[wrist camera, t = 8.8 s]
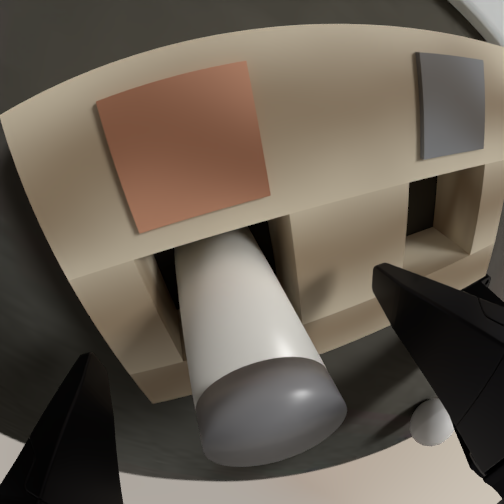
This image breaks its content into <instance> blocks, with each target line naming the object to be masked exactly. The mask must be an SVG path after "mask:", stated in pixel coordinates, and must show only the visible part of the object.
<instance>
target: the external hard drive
mask: <svg viewBox="0 0 504 504" xmlns="http://www.w3.org/2000/svg"><path fill="white" fill-rule="evenodd" d="M447 1H449V2H450V3H451V4H452V5H453V6H454V7H455V8H456V9H457V10H458V11H459V12H460V13H461V14H462V15H463V16H464V17H465V18H466V19H467V20H468V21H469V22H470V23H471V25H472V26H473V27H474V28H475V29H476V30H477V31H478V32H479V33H480V34H481V36H482V37H483V38H484V39H485V40H486V41H487V42H488V43H491V44H495V45H498V46H502V47H504V0H447Z"/></svg>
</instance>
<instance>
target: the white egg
mask: <svg viewBox="0 0 504 504" xmlns="http://www.w3.org/2000/svg"><path fill="white" fill-rule="evenodd" d="M453 431H454V428H453V424H452V421H451V419H450V416H449V414H448V413H447V411H446V409H445V408H444V406H443V404H442V403H441V401H440V400H439V399H431V400H427V401H425V402H423V403H422V404H420V405H419V406H418V407H417V408H416V410H415V411H414V413H413V414H412V417H411V420H410V432H411V435H412V437H413V438H414V439H415V441H416V442H418V443H420V444H422V445H425V446H434V445H439V444H441V443H442V442H444V441H445V440H446V439H448V438H449V437H450V436H451V434H452V433H453Z"/></svg>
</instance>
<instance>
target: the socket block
mask: <svg viewBox="0 0 504 504" xmlns="http://www.w3.org/2000/svg"><path fill="white" fill-rule="evenodd" d="M0 119H1V123H2V126H3V129H4V133H5V136H6V139H7V142H8V145H9V148H10V151H11V154H12V157H13V160H14V163H15V166H16V168H17V171H18V174H19V176H20V179H21V182H22V184H23V187H24V189H25V192H26V194H27V197H28V199H29V201H30V204H31V206H32V208H33V211H34V213H35V215H36V217H37V220H38V222H39V224H40V226H41V228H42V230H43V232H44V235H45V237H46V239H47V241H48V243H49V245H50V247H51V249H52V251H53V253H54V255H55V257H56V259H57V260H58V262H59V264H60V266H61V268H62V270H63V272H64V274H65V275H66V277H67V279H68V281H69V283H70V284H71V286H72V288H73V290H74V291H75V293H76V295H77V296H78V298H79V300H80V301H81V303H82V305H83V306H84V308H85V310H86V311H87V313H88V315H89V316H90V318H91V319H92V321H93V322H94V324H95V326H96V327H97V329H98V330H99V332H100V333H101V335H102V336H103V338H104V339H105V341H106V342H107V344H108V345H109V347H110V348H111V349H112V351H113V352H114V354H115V355H116V357H117V358H118V359H119V361H120V362H121V364H122V365H123V366H124V368H125V369H126V370H127V372H128V373H129V374H130V376H131V377H132V378H133V380H134V381H135V382H136V384H137V385H138V386H139V387H140V389H141V390H142V391H143V393H144V394H145V395H146V396H147V398H148V399H149V400H150V401H151V402H152V404H154V403H158V402H163V401H167V400H172V399H176V398H180V397H184V396H188V395H192V389H191V383H190V377H189V370H188V364H187V357H186V350H185V343H184V336H183V329H182V321H181V313H180V309H178V310H177V309H176V307H175V304H174V302H173V300H172V297H171V295H170V293H169V290H168V288H167V286H166V283H165V281H164V279H163V276H162V274H161V271H160V269H159V267H158V264H157V262H156V259H155V257H154V253H158V252H161V251H164V250H168V249H171V248H174V247H178V246H181V245H184V244H188V243H191V242H194V241H198V240H201V239H204V238H208V237H211V236H215V235H218V234H221V233H225V232H228V231H232V230H235V229H239V228H242V227H246V226H249V225H253V224H256V223H260V222H263V221H268V226H269V232H270V238H271V244H272V249H273V255H274V261H275V267H276V273H277V279H278V281H279V283H280V285H281V287H282V288H283V290H284V292H285V294H286V296H287V297H288V299H289V301H290V303H291V305H292V307H293V308H294V310H295V312H296V314H297V316H298V317H299V319H300V321H301V323H302V325H303V327H304V328H305V330H306V332H307V334H308V336H309V337H310V339H311V341H312V343H313V345H314V347H315V348H316V350H317V352H318V354H319V355H320V354H322V353H325V352H327V351H330V350H333V349H335V348H338V347H340V346H343V345H345V344H348V343H350V342H352V341H355V340H357V339H360V338H362V337H364V336H367V335H369V334H371V333H374V332H376V331H378V330H380V329H383V328H385V327H387V326H389V325H391V324H390V322H389V320H388V319H387V317H386V315H385V313H384V311H383V309H382V308H381V306H380V304H379V302H378V300H377V298H376V297H375V295H374V293H373V290H372V275H373V268H374V266H376V265H378V264H381V263H389V264H391V265H394V266H397V267H400V268H402V269H405V270H408V271H411V272H413V273H416V274H419V275H421V276H424V277H427V278H429V279H432V280H435V281H437V282H440V283H442V284H445V285H448V286H450V287H453V288H455V289H458V290H461V289H463V288H465V287H467V286H469V285H470V284H472V283H474V282H476V281H478V280H479V279H481V278H483V277H484V276H485V275H486V272H487V269H488V265H489V262H490V258H491V254H492V250H493V247H494V243H495V238H496V234H497V230H498V225H499V220H500V216H501V210H502V205H503V199H504V47H502V46H498V45H495V44H491V43H487V42H483V41H479V40H475V39H471V38H466V37H462V36H457V35H452V34H446V33H441V32H435V31H428V30H421V29H413V28H404V27H394V26H382V25H364V24H311V25H292V26H280V27H269V28H260V29H252V30H244V31H237V32H231V33H225V34H219V35H214V36H209V37H204V38H199V39H194V40H189V41H185V42H181V43H177V44H173V45H169V46H165V47H161V48H157V49H154V50H150V51H147V52H144V53H140V54H137V55H134V56H131V57H128V58H125V59H122V60H119V61H116V62H113V63H110V64H107V65H105V66H102V67H99V68H97V69H94V70H91V71H89V72H86V73H84V74H81V75H79V76H77V77H74V78H72V79H70V80H67V81H65V82H63V83H61V84H58V85H56V86H54V87H52V88H50V89H48V90H46V91H44V92H42V93H40V94H38V95H36V96H34V97H32V98H30V99H28V100H26V101H24V102H22V103H20V104H19V105H17V106H15V107H13V108H11V109H10V110H8V111H6V112H4V113H3V114H1V115H0ZM433 176H437V190H436V202H435V212H434V221H433V227H431V228H428V229H426V230H423V231H420V232H417V233H414V234H412V235H409V236H406V228H407V215H408V198H409V182H413V181H417V180H421V179H425V178H429V177H433Z"/></svg>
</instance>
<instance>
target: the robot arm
mask: <svg viewBox="0 0 504 504" xmlns="http://www.w3.org/2000/svg"><path fill="white" fill-rule="evenodd" d="M490 280H491V277H490V276H489V275H487V274H486V275H485V276H484V277H483V278H481V279H479V280H478V281H476V282H474V283H472V284H470V285H469V286H467V287H465V288H463V289H461V290H458V289H455V288H453V287H450V286H448V285H445V284H442V283H440V282H437V281H435V280H432V279H429V278H427V277H424V276H421V275H419V274H416V273H413V272H411V271H408V270H405V269H402V268H400V267H397V266H394V265H391V264H389V263H381V264H378V265H376V266H374V268H373V275H372V290H373V293H374V295H375V297H376V298H377V300H378V302H379V304H380V306H381V308H382V309H383V311H384V313H385V315H386V317H387V319H388V320H389V322H390V324H391V326H392V328H393V329H394V331H395V332H396V334H397V335H398V337H399V338H400V340H401V341H402V343H403V344H404V346H405V347H406V349H407V350H408V352H409V353H410V355H411V356H412V358H413V359H414V361H415V362H416V364H417V365H418V367H419V368H420V370H421V371H422V373H423V374H424V376H425V377H426V379H427V381H428V382H429V384H430V385H431V387H432V388H433V390H434V392H435V393H436V395H437V396H438V398H439V400H440V401H441V403H442V404H443V406H444V408H445V409H446V411H447V413H448V414H449V416H450V419H451V421H452V424H453V428H454V430H455V432H456V434H457V437H458V439H459V441H460V444H461V446H462V449H463V451H464V454H465V456H466V459H467V461H468V464H469V466H470V468H471V469H472V470H474V471H475V473H476V474H477V475H479V476H480V477H481V478H483V480H484V482H485V483H487V484H488V485H490V486H492V487H493V488H494V489H495V490H496V491H497V492H498V494H499V495H500V496H501V497H502V500H501V501H500V502H499V503H497V504H504V302H503V301H502V300H501V299H500V298H499V297H497V296H496V295H495V294H494V293H493V292H492V291H491V290H490V289H489V288H488V286H489V283H490ZM0 504H123V499H122V493H121V487H120V478H119V470H118V461H117V452H116V440H115V427H114V416H113V409H112V402H111V396H110V389H109V382H108V374H107V371H106V369H105V367H104V366H103V365H102V363H101V362H100V361H99V359H98V358H97V357H96V355H95V354H94V353H92V352H90V353H85V354H82V355H80V356H79V358H78V359H77V361H76V362H75V364H74V365H73V367H72V368H71V370H70V371H69V373H68V375H67V376H66V378H65V379H64V381H63V382H62V384H61V385H60V387H59V389H58V390H57V392H56V393H55V395H54V397H53V398H52V400H51V401H50V403H49V405H48V406H47V408H46V410H45V411H44V413H43V415H42V416H41V418H40V420H39V421H38V423H37V425H36V426H35V428H34V430H33V432H32V433H31V435H30V439H28V440H27V442H26V444H25V445H24V447H23V449H22V451H21V452H20V454H19V456H18V458H17V459H16V461H15V462H14V464H13V466H12V467H11V469H10V470H9V472H8V474H7V475H6V477H5V478H4V480H3V481H2V483H1V484H0Z"/></svg>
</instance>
